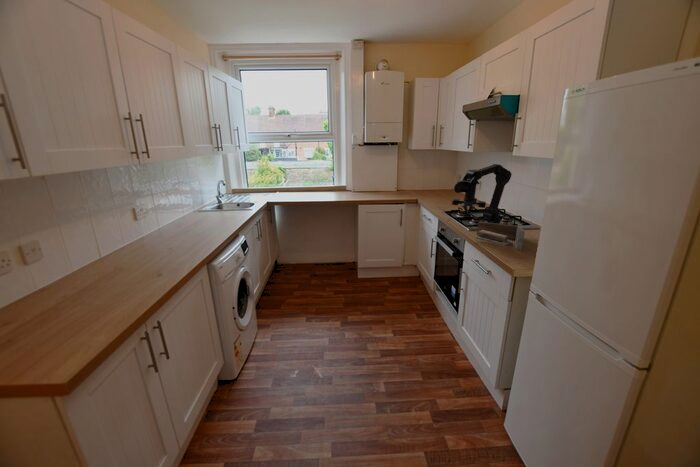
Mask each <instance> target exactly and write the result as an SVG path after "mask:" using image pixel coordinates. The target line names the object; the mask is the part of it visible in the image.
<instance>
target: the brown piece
mask: <svg viewBox="0 0 700 467" xmlns="http://www.w3.org/2000/svg"><path fill="white" fill-rule="evenodd" d="M476 229H477V232H476V235H477V234H478V231H481V230H486V231H490V232H494V233H498V234H501V235H505V236H508V240H509V239H510V240H514V242H515V246H516V250H517V251H522V250H523V249H522V248H523V244H524V239H525V234H526V233H525V230H524V227H523V223H517V225H513V224H505V223H504V224H503V223H499V224H497V223H488V222H487V221H478V224H477V228H476Z"/></svg>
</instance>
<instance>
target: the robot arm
mask: <svg viewBox="0 0 700 467" xmlns="http://www.w3.org/2000/svg"><path fill="white" fill-rule="evenodd" d="M490 174H493V175H495V178H494V179H495V186H494V190H493V193H492V198H491V200H490V203H489V206H487V207H486V203H487V202H486V201H482V200H478V199H477V197H476V190H477V185H479V184H480V181H479V180H481V179H482V178H483V177H485V176H487V175H490ZM512 175H513V174H512V171H510V170H508V169H507V168H505V167H504V166H502V165H501V164H498V163H493V164H491V165H488V166H485V167H482V168H479V169H468V170H467V171H466V173H465V174H464V176H463V177H462V178H461V181H460V180H457V183H455V185H454V187H453V189H454V192H455V193H456V194H460V193H461V194H462V193H464V197H463V200H461V199H460V198H459V199H458V198H453V199H452V202H451V205H453V206H458V205H459V204H460V205H461V208H463V210H464V212H465V217H466V218H468V217H469V215H470V213H471V211H472V210H473V209H475V207H476V206H477V207H479V208H482V209H483V208H484V212H483V219H484V221H483V222H488V223H497V224H501V221H502V219H501V218H500V217H499V215H500V214H499V213H500V210H499V206H500V202H501V200H502V199H501V198H502V195H503V192H504V191H505V186H506V185H507V184H508V183H509V182H510V180H511V178H512Z"/></svg>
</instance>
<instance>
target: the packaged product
mask: <svg viewBox="0 0 700 467" xmlns="http://www.w3.org/2000/svg"><path fill="white" fill-rule="evenodd" d="M474 238H475V239H477V240H481V241H485V242H488V243H492V244H494V245H495V244H496V245H499V246H504V247H505V246H508V245H510V244H511V243H512V242H513V241H512V240H511V239H510V240H509V238H508V236H505V235H501V234H498V233H494V232H490V231H486V230H481V231H478V234H477V233H476V235H475V237H474Z"/></svg>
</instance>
